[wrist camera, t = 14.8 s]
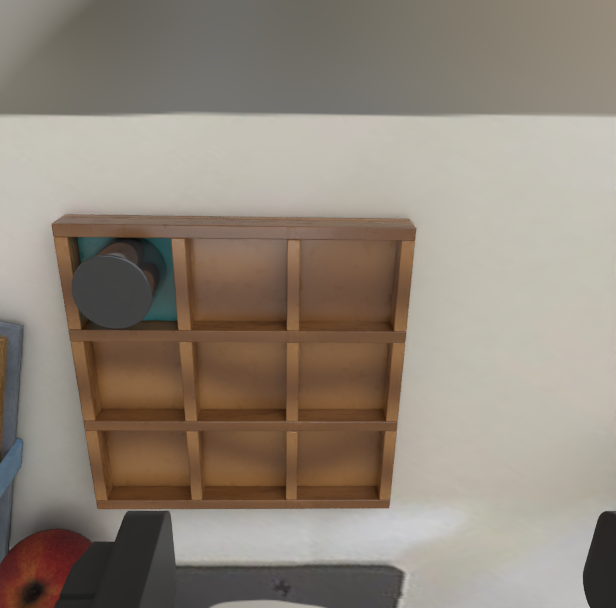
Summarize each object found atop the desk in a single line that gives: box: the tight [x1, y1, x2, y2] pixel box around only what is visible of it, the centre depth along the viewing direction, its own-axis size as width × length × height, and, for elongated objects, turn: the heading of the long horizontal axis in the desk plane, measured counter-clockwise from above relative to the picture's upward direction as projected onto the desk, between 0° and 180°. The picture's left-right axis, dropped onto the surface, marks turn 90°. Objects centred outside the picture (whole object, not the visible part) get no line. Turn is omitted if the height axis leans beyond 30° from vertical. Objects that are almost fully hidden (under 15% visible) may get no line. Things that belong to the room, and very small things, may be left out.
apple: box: [0, 529, 92, 608], centre depth 41 cm, size 7×8×8 cm
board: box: [52, 215, 416, 509], centre depth 38 cm, size 21×21×2 cm
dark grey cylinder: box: [71, 237, 167, 329], centre depth 33 cm, size 4×4×4 cm
